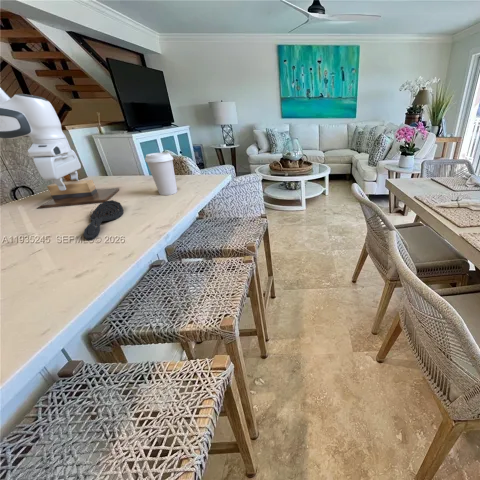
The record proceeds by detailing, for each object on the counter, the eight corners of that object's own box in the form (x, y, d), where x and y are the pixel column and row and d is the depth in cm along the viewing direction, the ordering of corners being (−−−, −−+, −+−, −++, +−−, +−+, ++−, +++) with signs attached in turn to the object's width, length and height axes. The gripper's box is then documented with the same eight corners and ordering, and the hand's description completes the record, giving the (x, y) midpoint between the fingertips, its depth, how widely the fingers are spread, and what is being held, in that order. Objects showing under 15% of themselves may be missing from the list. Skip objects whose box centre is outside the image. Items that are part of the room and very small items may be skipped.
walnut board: (37, 208, 91) (35, 206, 90) (60, 195, 104) (59, 192, 104) (105, 202, 96) (104, 199, 96) (119, 190, 110) (118, 187, 109)
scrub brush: (53, 199, 96) (46, 186, 94) (60, 195, 100) (53, 182, 98) (92, 196, 100) (87, 183, 97) (97, 192, 104) (92, 179, 102)
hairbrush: (65, 233, 67) (93, 199, 86) (72, 246, 68) (98, 209, 88) (105, 228, 69) (123, 196, 89) (110, 240, 71) (127, 206, 91)
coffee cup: (153, 192, 107) (141, 153, 100) (178, 188, 112) (169, 151, 105) (157, 198, 100) (145, 157, 93) (184, 193, 105) (174, 154, 99)
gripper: (57, 143, 100) (72, 180, 106) (23, 152, 82) (44, 195, 89) (77, 143, 101) (91, 179, 108) (49, 151, 84) (67, 193, 90)
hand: (70, 186), depth 98 cm, fingers open, 8 cm apart
